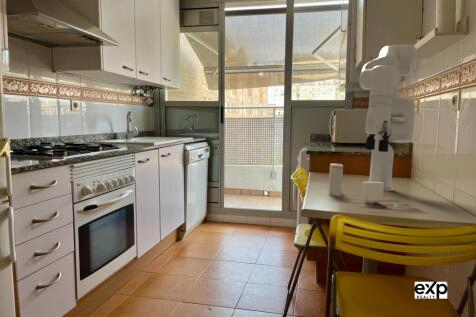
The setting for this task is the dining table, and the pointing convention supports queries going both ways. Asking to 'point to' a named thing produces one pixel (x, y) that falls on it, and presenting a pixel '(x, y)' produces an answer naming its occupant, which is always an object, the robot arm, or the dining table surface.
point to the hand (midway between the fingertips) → (376, 150)
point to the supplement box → (335, 179)
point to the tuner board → (390, 204)
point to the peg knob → (373, 192)
